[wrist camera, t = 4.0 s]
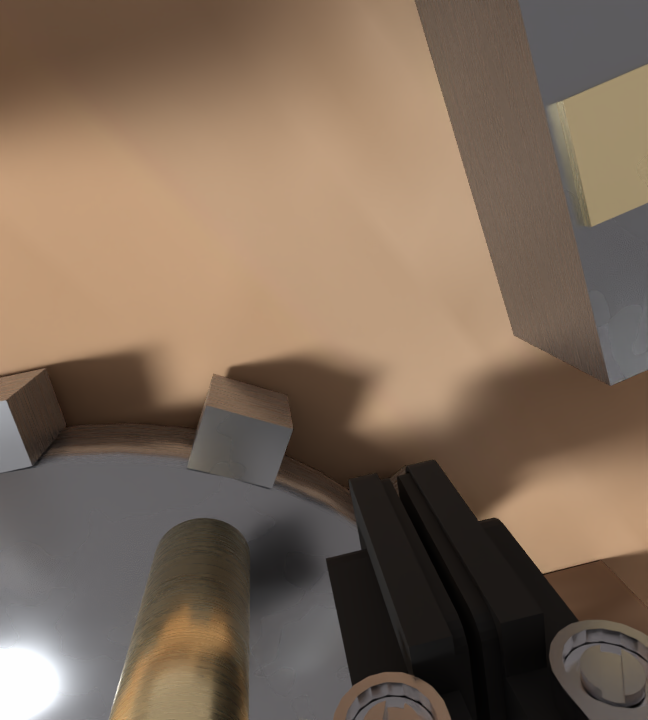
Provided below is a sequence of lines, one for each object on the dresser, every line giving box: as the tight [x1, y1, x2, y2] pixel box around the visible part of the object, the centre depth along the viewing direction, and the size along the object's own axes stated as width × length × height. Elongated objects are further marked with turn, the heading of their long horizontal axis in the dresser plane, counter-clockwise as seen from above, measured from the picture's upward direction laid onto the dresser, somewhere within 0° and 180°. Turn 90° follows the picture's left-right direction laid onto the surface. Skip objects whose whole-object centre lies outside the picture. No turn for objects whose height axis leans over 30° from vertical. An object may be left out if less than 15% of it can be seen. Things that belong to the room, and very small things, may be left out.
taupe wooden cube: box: [544, 560, 648, 636], centre depth 15 cm, size 3×2×3 cm
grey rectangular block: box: [415, 0, 648, 386], centre depth 10 cm, size 4×8×4 cm, turn 22°
